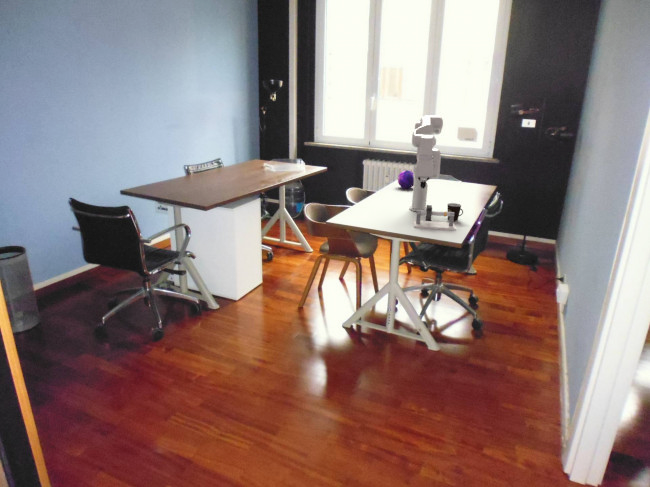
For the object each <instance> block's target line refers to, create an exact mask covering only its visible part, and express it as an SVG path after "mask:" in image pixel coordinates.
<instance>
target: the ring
mask: <svg viewBox="0 0 650 487" xmlns="http://www.w3.org/2000/svg"><path fill="white" fill-rule="evenodd" d="M426 211H427V213H426V215H425V221H432V217H433V215H432V211H433V206H432V205H431V204H430V205H429V204H426Z"/></svg>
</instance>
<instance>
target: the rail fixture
mask: <svg viewBox="0 0 650 487" xmlns="http://www.w3.org/2000/svg"><path fill="white" fill-rule="evenodd" d="M426 213H427V211H421V210H417V211H416V217H415V218H416V219H415V220H413V228H417V229H430V230H431V229H432V230H443V231H444V230H446V231H457V228H456V224H455V223H454V222H455V221H454V212H448V211H434V210H432V216H434V217H435V216H436V217H444V218H445V217H448V216H450V218H449V220H448V221H447V222H446V221H432V220H431V221H426V220H421V217H422V216H426Z"/></svg>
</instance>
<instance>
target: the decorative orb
mask: <svg viewBox="0 0 650 487" xmlns="http://www.w3.org/2000/svg"><path fill="white" fill-rule="evenodd" d="M397 176H398V177H397V183H398V185H399V186H400V187H401V188H403V189H406V190H407V189H411V188H413V186H414V172H413V171H411V170H410V169H409V170H403V171H401V172H400V173H399V175H397Z"/></svg>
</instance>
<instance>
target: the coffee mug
mask: <svg viewBox="0 0 650 487" xmlns="http://www.w3.org/2000/svg"><path fill="white" fill-rule="evenodd" d="M447 212H454V222H457V221H458V220H459V217H461V216H462V215H464V210H463V209H462V204H460V203H454V202H451V203H447ZM460 213H461V214H460ZM449 218H450V216H447V220H448V221H449Z"/></svg>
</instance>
